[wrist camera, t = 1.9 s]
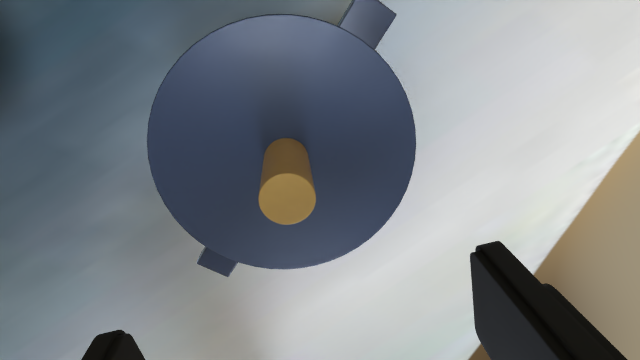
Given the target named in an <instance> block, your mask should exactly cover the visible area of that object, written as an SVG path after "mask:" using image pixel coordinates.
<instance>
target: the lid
mask: <svg viewBox="0 0 640 360" xmlns="http://www.w3.org/2000/svg"><path fill="white" fill-rule="evenodd" d="M147 147H148V159H149V164H150V168H151V173H152V176H153V179H154V182H155V185H156V187H157V190H158V192H159V194H160V196H161V198H162V200H163V202H164V204H165V205H166V207H167V208H168V210H169V211H170V213H171V214H172V215H173V217H174V218H175V219H176V221H177V222H178V223H179V224H180V225H181V226H182V227H183V228H184V229H185V230H186V231H187V232H188V233H189V234H190V235H191V236H193V237H194V238H195V239H196V240H197V241H198V242H200V243H201V244H203V245H204V246H206V247H207V248H209V249H210V250H212V251H214V252H216V253H218V254H220V255H222V256H224V257H226V258H229V259H231V260H234V261H236V262H239V263H243V264H247V265H250V266H254V267H261V268H268V269H296V268H304V267H310V266H315V265H319V264H322V263H325V262H329V261H331V260H334V259H336V258H338V257H341V256H343V255H345V254H347V253H349V252H350V251H352V250H354V249H356V248H358V247H359V246H360V245H362V244H363V243H364V242H366V241H367V240H369V239H370V238H371V237H372V236H373V235H374V234H375V233H376V232H377V231H379V230H380V229H381V228H382V226H383V225H384V224H385V223H386V222H387V221H388V220H389V218H390V217H391V216H392V214H393V213H394V211H395V210H396V208H397V207H398V205H399V204H400V202H401V200H402V198H403V196H404V194H405V192H406V190H407V187H408V184H409V181H410V178H411V175H412V171H413V166H414V161H415V151H416V134H415V124H414V119H413V114H412V110H411V107H410V104H409V101H408V98H407V95H406V93H405V91H404V89H403V87H402V85H401V83H400V81H399V79H398V78H397V76H396V75H395V74H394V72H393V71H392V69H391V68H390V66H389V65H388V64H387V63H386V62H385V60H384V59H383V58H382V57H381V56H380V55H379V54H378V53H377V52H376V51H375V50H374V49H373V48H371V47H370V46H369V45H368V44H366V43H365V42H364V41H363V40H362V39H360V38H358V37H357V36H355V35H353V34H352V33H350V32H348V31H347V30H345V29H343V28H341V27H338V26H336V25H333V24H331V23H329V22H326V21H322V20H319V19H315V18H311V17H307V16H299V15H291V14H271V15H262V16H256V17H250V18H246V19H242V20H239V21H236V22H233V23H230V24H227V25H225V26H223V27H221V28H219V29H217V30H215V31H213V32H211V33H209V34H208V35H206V36H205V37H204V38H202V39H201V40H199V41H198V42H196V43H195V44H194V45H193V46H191V47H190V48H189V49H188V50H187V51H186V52H185V53H184V54H183V55H182V56H181V57H180V58H179V59H178V60H177V62H176V63H175V64H174V65H173V67H172V68H171V69H170V70H169V72H168V73H167V75H166V77H165V79H164V80H163V82H162V84H161V86H160V87H159V89H158V92H157V95H156V97H155V100H154V102H153V105H152V109H151V113H150V118H149V122H148V134H147Z"/></svg>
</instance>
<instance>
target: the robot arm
mask: <svg viewBox="0 0 640 360" xmlns="http://www.w3.org/2000/svg"><path fill="white" fill-rule="evenodd" d="M470 262H471V277H472V291H473V306H474V320H475V329H476V333H477V336H478V338H479V340H480V342H481V344H482V345H483V347H484V349H485V350H486V352H487V353H488V355H489V357H490V358H491V360H627V359H626V358H625V357H624V356H623V355H622V354H621V353H620V352H619V351H618V350H617V349H616V348H615V347H614V346H613V345H612V344H611V343H610V342H609V341H608V340H607V339H606V338H605V337H604V336H603V335H602V334H601V333H600V332H599V331H598V330H597V329H596V328H595V327H594V326H593V325H592V324H591V323H590V322H589V321H588V320H587V319H586V318H585V317H584V316H583V315H582V314H581V313H580V312H579V311H578V310H577V309H576V308H575V307H574V306H573V305H572V304H571V303H570V302H568V300H567V299H566V298H565V297H564V296H562V294H561V293H560V292H558V291H557V290H556V289H555V288H554V287H553V286H551V285H549V284H541V283H540V282H539V281H538V280H537V279H536V278H535V277H534V276H533V275H532V273H531V272H530V271H529V270H528V269H527V268H526V267H525V266H524V265H523V264H522V263H521V262H520V261H519V260H518V259H517V258H516V257H515V256H514V255H513V254H512V253H511V252H510V251H509V250H508V249H507V248H506V247H505V246H504V245H503V244H502V243H501V242H500V241H495V242H491V243H487V244H483V245H478V246H477V247H476V252H473V253H471V254H470ZM81 360H145V358H144V356H143V355H142V353H141V351H140V349H139V348H138V346H137V344H136V342H135V341H134V339H133V337H132V336H131V335H130V334H126V333H125V332H124V331H122V330H116V331H112V332H108V333H103V334H99V335H97V336H96V337H95V338H94V340H93V341H92V343H91V345H90V346H89V348H88V350H87V351H86V353H85V355H84V356H83V358H82V359H81Z"/></svg>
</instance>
